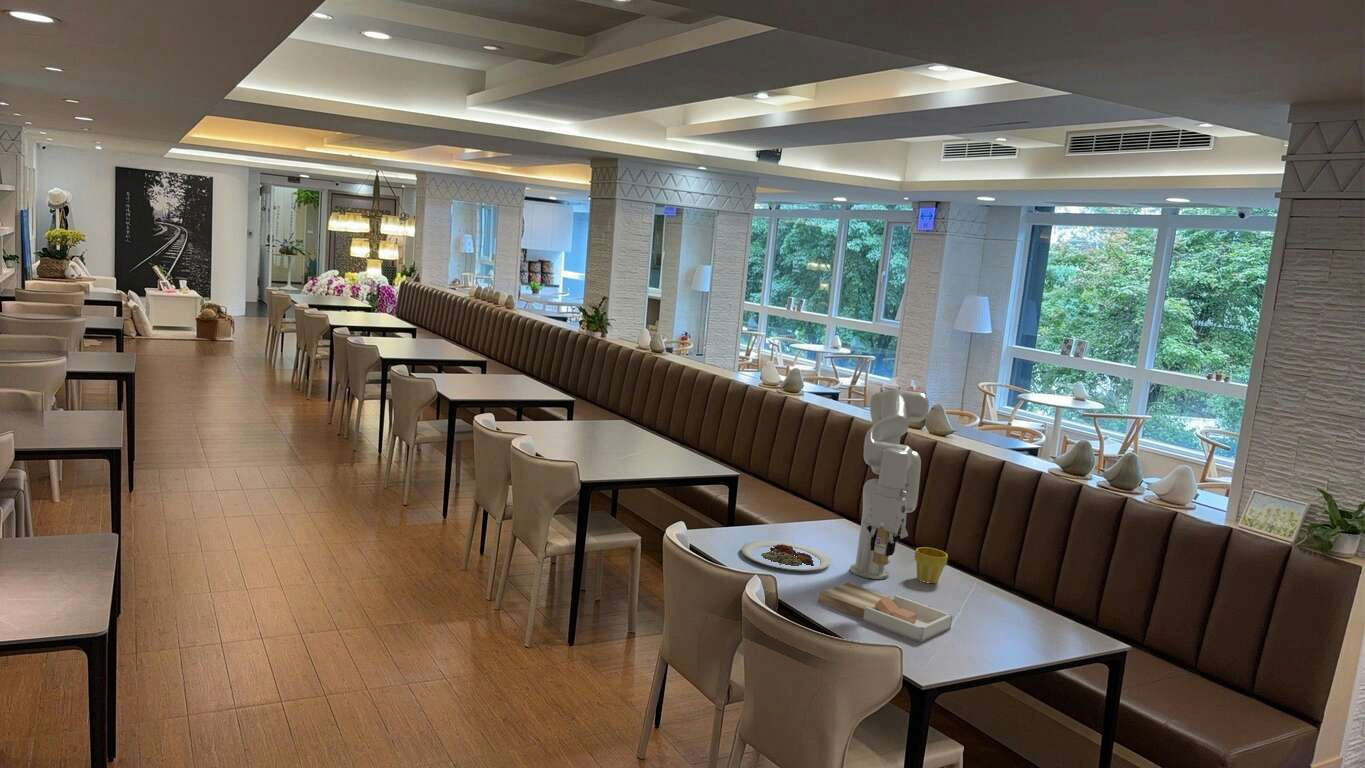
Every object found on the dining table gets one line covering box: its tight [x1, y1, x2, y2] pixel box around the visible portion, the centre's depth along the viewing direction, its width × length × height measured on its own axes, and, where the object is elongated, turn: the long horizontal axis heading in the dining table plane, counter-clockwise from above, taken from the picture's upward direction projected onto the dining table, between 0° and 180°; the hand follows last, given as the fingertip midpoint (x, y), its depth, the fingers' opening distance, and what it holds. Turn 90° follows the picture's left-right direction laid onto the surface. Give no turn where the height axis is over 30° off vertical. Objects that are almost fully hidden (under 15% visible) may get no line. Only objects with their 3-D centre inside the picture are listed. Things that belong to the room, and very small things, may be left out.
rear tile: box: [875, 595, 900, 616], centre depth 272 cm, size 5×5×2 cm
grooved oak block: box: [817, 582, 895, 620], centre depth 279 cm, size 16×16×3 cm
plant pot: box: [914, 546, 949, 584], centre depth 310 cm, size 10×10×10 cm
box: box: [862, 595, 954, 644], centre depth 268 cm, size 18×18×4 cm
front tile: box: [892, 608, 917, 624], centre depth 269 cm, size 5×5×2 cm
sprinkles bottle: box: [872, 522, 889, 566], centre depth 273 cm, size 5×5×13 cm
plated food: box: [740, 539, 832, 572], centre depth 316 cm, size 30×30×3 cm
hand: (881, 551), depth 273 cm, fingers closed on sprinkles bottle, 4 cm apart
